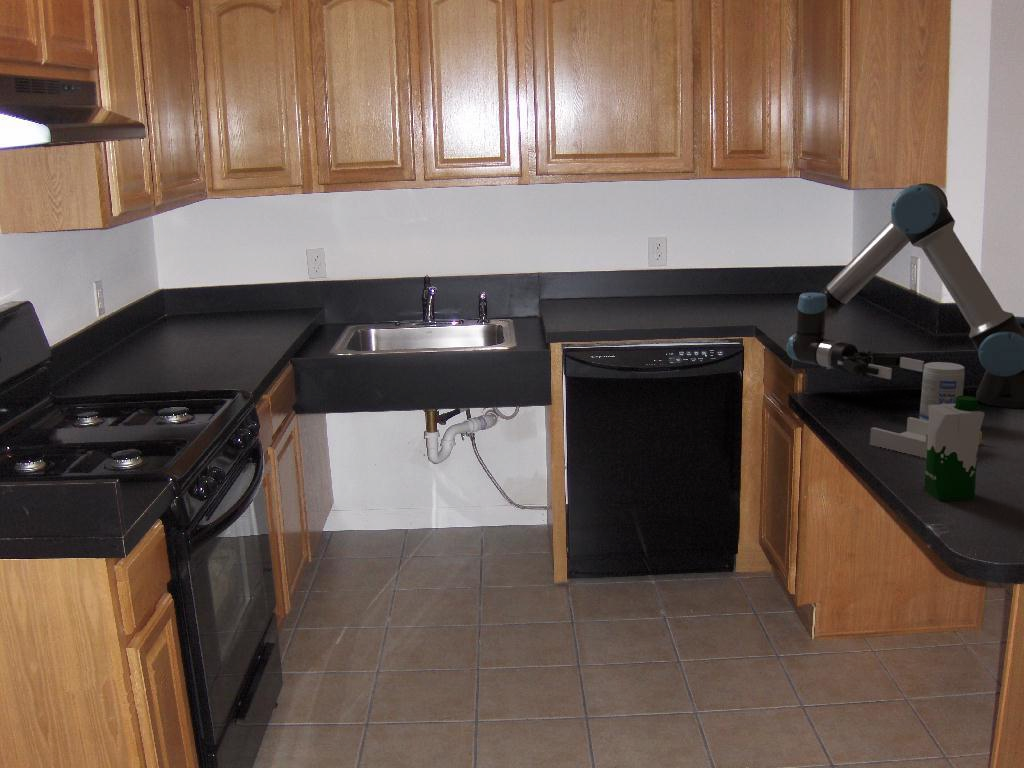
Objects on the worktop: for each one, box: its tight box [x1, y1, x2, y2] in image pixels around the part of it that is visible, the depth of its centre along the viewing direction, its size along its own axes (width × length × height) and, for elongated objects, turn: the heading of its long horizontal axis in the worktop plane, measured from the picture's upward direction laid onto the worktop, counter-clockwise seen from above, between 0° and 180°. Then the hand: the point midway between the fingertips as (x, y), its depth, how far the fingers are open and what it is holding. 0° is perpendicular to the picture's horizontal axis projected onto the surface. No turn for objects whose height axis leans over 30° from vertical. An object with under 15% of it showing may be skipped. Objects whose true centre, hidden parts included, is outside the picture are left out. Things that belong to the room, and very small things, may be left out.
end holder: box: [869, 416, 929, 458], centre depth 240 cm, size 15×15×6 cm
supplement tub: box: [918, 361, 966, 421], centre depth 258 cm, size 10×10×15 cm
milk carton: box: [923, 395, 985, 502], centre depth 207 cm, size 9×9×20 cm
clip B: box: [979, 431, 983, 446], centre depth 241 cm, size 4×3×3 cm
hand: (907, 370), depth 264 cm, fingers open, 13 cm apart
